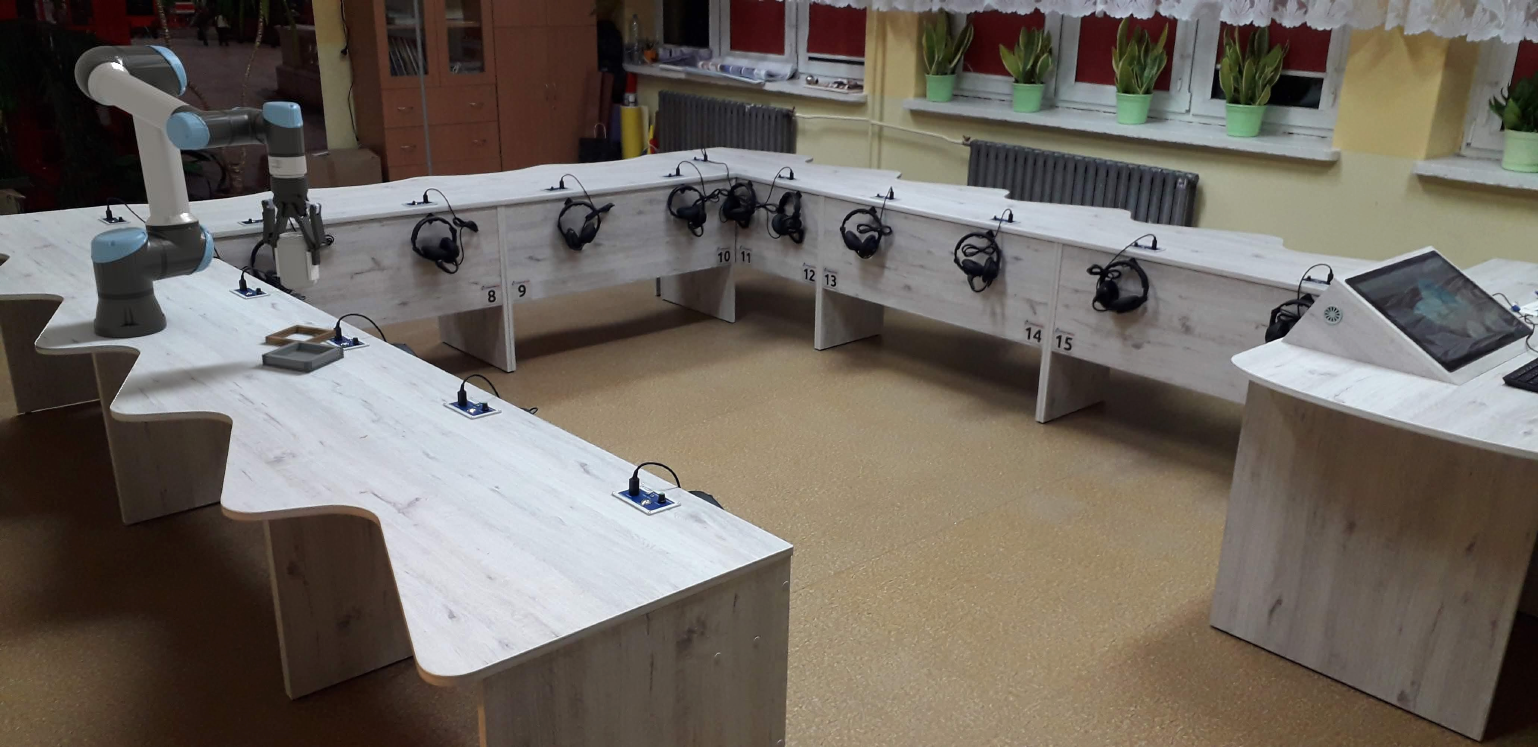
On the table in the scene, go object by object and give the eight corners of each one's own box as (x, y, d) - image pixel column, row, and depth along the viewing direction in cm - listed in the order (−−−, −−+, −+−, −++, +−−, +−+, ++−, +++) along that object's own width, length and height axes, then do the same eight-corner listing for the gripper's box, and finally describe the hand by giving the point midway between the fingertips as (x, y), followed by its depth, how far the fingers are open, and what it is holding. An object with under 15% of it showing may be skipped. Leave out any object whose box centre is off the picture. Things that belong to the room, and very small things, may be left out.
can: (305, 291, 247) (300, 238, 243) (274, 289, 248) (268, 235, 244) (323, 284, 254) (319, 232, 250) (293, 281, 255) (288, 229, 251)
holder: (265, 342, 261) (265, 336, 260) (297, 330, 271) (296, 324, 270) (305, 349, 258) (305, 342, 258) (336, 336, 268) (335, 330, 268)
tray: (262, 365, 246) (261, 354, 245) (299, 350, 257) (298, 340, 256) (309, 373, 243) (308, 362, 242) (344, 357, 254) (343, 347, 253)
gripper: (236, 173, 242) (248, 276, 249) (317, 181, 237) (327, 285, 244) (260, 169, 249) (270, 269, 256) (339, 176, 244) (348, 278, 251)
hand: (298, 277), depth 250 cm, fingers closed on can, 7 cm apart
